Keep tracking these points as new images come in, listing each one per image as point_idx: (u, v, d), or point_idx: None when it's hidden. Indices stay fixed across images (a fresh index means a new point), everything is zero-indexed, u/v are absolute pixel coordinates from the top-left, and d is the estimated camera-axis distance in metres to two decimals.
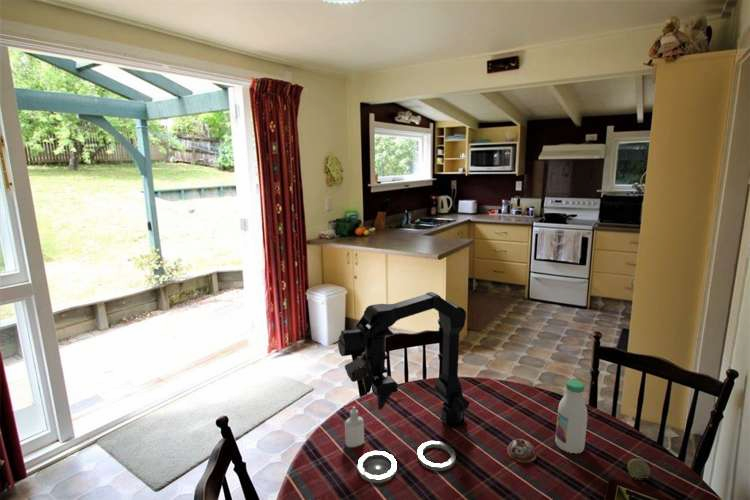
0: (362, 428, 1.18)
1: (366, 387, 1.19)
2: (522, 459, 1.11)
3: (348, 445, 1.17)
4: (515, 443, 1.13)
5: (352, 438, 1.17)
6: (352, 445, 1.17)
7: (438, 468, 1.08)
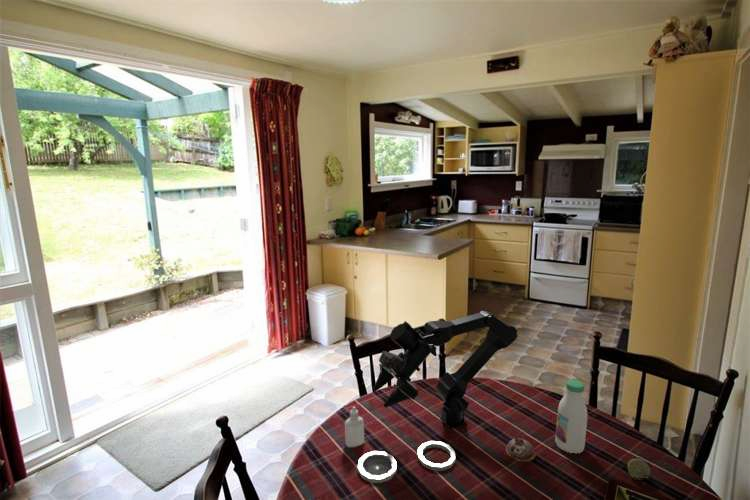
0: (362, 428, 1.18)
1: (377, 384, 1.23)
2: (521, 458, 1.11)
3: (348, 445, 1.17)
4: (514, 442, 1.13)
5: (352, 438, 1.17)
6: (352, 445, 1.17)
7: (438, 468, 1.08)
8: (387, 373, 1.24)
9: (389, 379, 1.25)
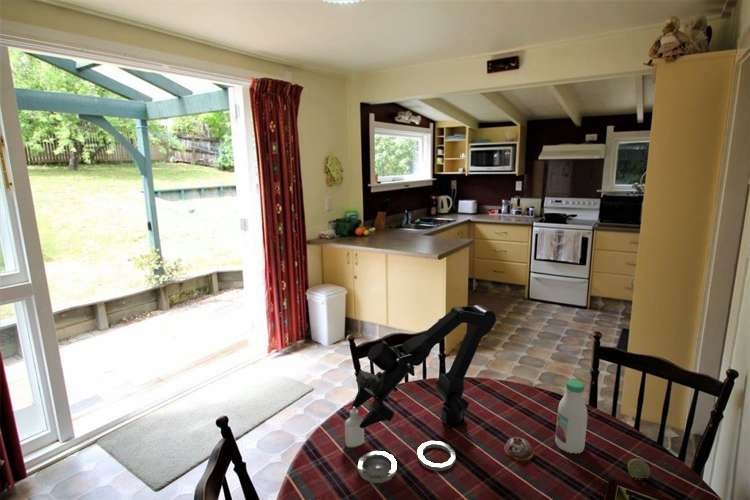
0: (362, 428, 1.18)
1: (355, 403, 1.22)
2: (519, 457, 1.11)
3: (348, 445, 1.17)
4: (512, 441, 1.14)
5: (352, 438, 1.17)
6: (352, 445, 1.17)
7: (438, 468, 1.08)
8: (365, 392, 1.23)
9: (367, 398, 1.23)
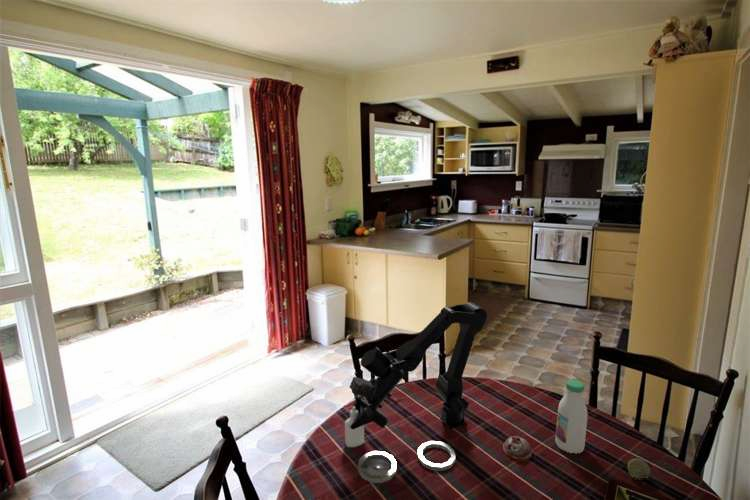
0: (362, 428, 1.18)
1: None
2: (517, 456, 1.12)
3: (348, 445, 1.17)
4: (511, 440, 1.14)
5: (352, 438, 1.17)
6: (352, 445, 1.17)
7: (438, 468, 1.08)
8: (361, 403, 1.20)
9: (364, 409, 1.21)
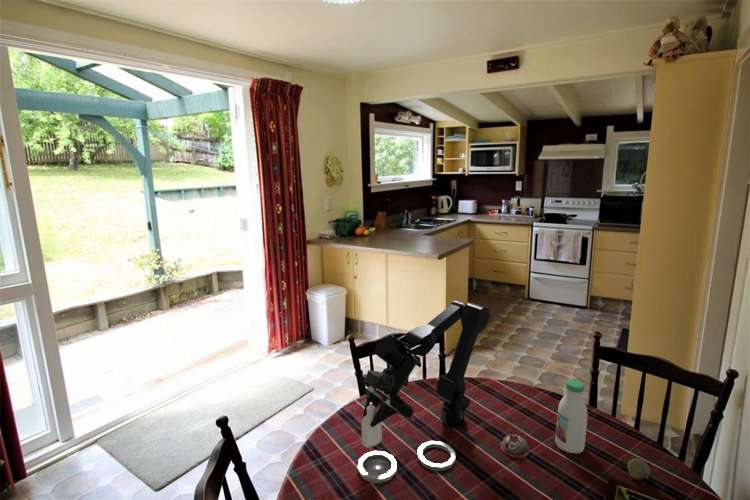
0: (380, 424, 1.09)
1: (366, 412, 1.09)
2: (515, 454, 1.12)
3: (367, 445, 1.07)
4: (508, 438, 1.15)
5: (372, 436, 1.07)
6: (371, 444, 1.07)
7: (438, 468, 1.08)
8: (375, 398, 1.11)
9: (377, 404, 1.12)
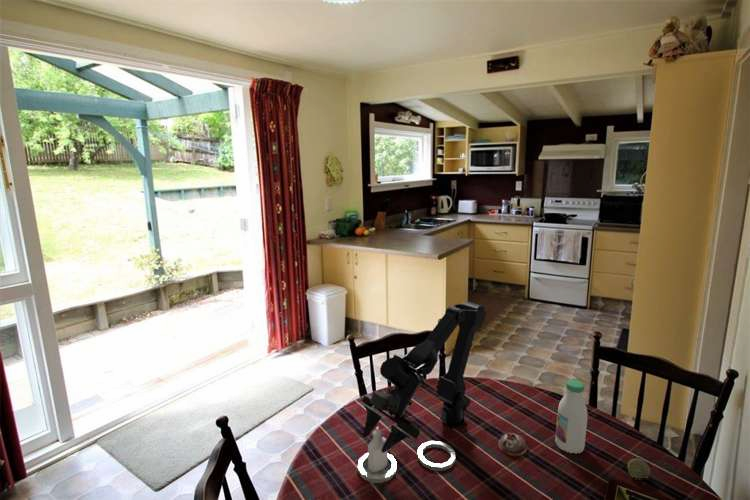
0: None
1: (367, 429, 1.10)
2: (512, 452, 1.13)
3: (374, 470, 1.07)
4: (506, 437, 1.16)
5: (379, 461, 1.07)
6: (378, 469, 1.07)
7: (438, 468, 1.08)
8: (375, 415, 1.12)
9: (377, 421, 1.13)
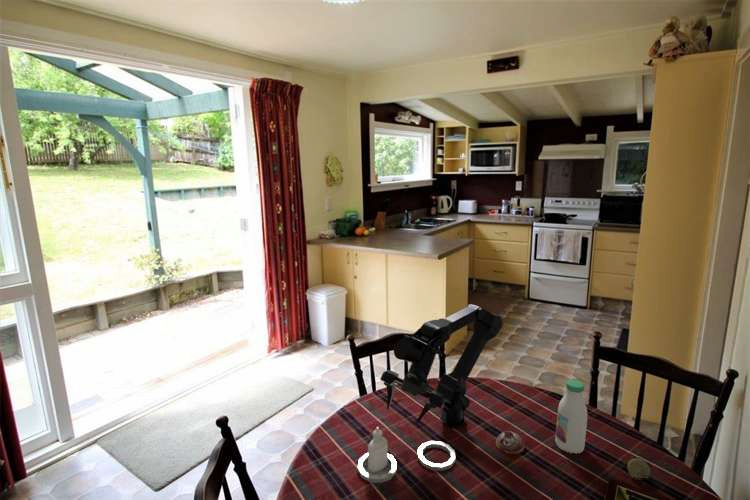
0: (386, 448, 1.09)
1: (390, 402, 1.16)
2: (509, 450, 1.14)
3: (374, 470, 1.07)
4: (503, 435, 1.17)
5: (379, 461, 1.07)
6: (378, 469, 1.07)
7: (438, 468, 1.08)
8: (394, 387, 1.17)
9: (394, 390, 1.19)
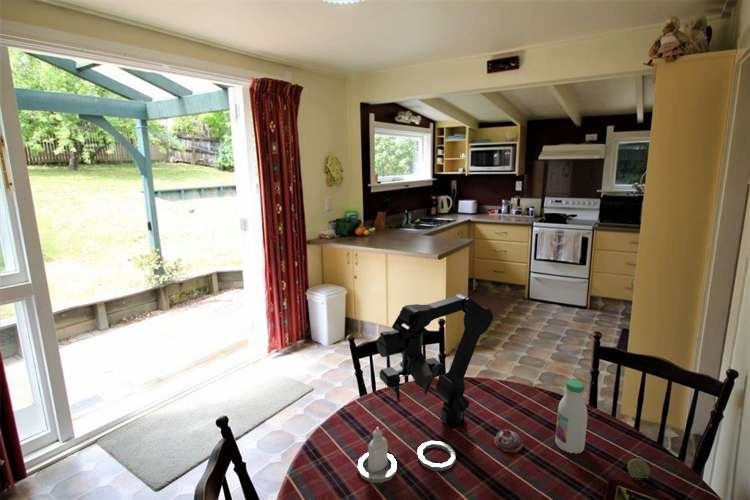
0: (386, 448, 1.09)
1: None
2: (507, 448, 1.15)
3: (374, 470, 1.07)
4: (501, 433, 1.17)
5: (379, 461, 1.07)
6: (378, 469, 1.07)
7: (438, 468, 1.08)
8: None
9: None
